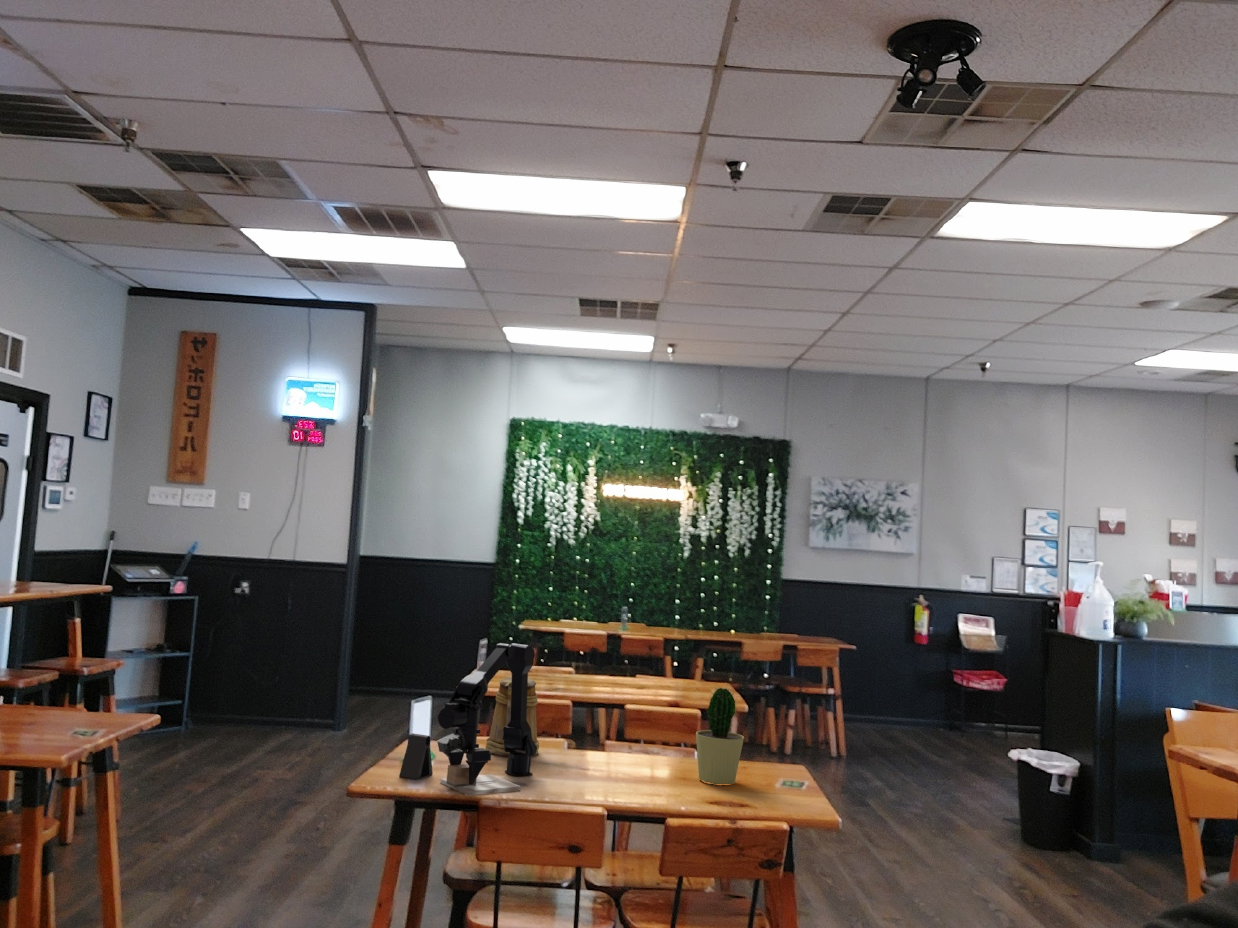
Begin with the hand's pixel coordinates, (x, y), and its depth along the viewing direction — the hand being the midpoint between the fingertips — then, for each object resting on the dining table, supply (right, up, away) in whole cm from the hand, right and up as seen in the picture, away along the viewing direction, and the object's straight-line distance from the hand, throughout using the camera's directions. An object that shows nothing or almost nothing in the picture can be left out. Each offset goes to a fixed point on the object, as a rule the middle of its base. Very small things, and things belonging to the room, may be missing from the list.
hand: (462, 780), depth 289 cm
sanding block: (0, -1, 0) cm, 1 cm away
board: (+4, -3, +4) cm, 6 cm away
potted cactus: (+75, -11, +34) cm, 84 cm away
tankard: (+8, -8, +54) cm, 55 cm away
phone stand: (-15, -2, +11) cm, 19 cm away
